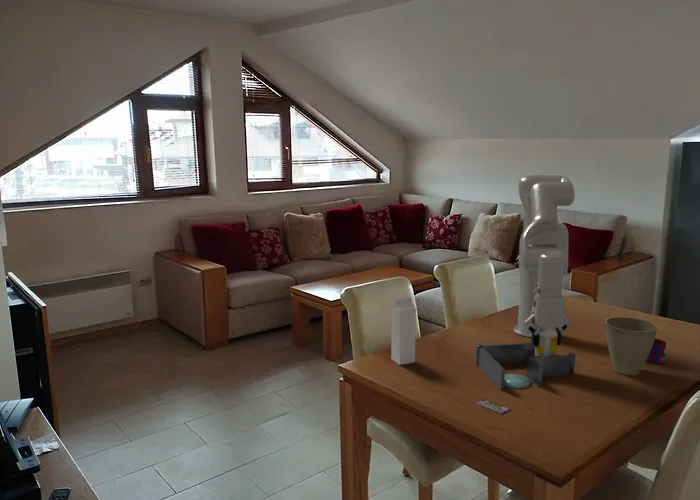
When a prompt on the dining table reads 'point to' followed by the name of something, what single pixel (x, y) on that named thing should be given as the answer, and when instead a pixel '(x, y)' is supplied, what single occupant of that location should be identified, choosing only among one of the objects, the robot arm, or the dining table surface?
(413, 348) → the milk
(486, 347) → the gray wall barrier
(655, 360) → the mug
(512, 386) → the pad
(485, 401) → the chocolate bar
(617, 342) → the plant pot
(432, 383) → the dining table surface
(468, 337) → the dining table surface
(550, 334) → the supplement bottle
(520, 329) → the robot arm
